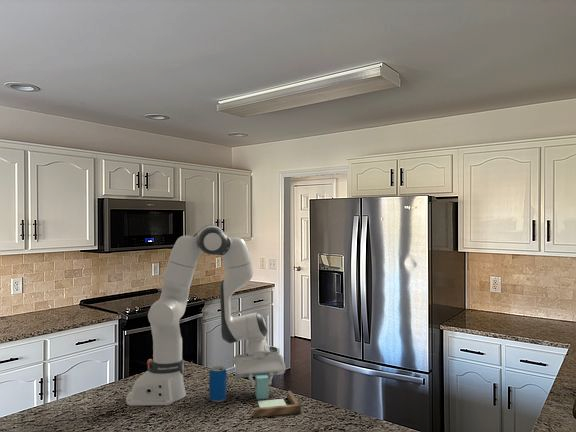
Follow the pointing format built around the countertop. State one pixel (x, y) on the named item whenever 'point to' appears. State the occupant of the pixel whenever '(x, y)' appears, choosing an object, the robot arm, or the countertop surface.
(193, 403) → the countertop surface
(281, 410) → the corner walls
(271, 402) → the pad
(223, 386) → the beverage can
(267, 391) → the teal block
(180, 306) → the robot arm
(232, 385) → the countertop surface
